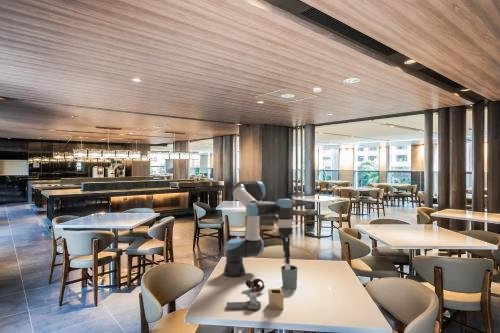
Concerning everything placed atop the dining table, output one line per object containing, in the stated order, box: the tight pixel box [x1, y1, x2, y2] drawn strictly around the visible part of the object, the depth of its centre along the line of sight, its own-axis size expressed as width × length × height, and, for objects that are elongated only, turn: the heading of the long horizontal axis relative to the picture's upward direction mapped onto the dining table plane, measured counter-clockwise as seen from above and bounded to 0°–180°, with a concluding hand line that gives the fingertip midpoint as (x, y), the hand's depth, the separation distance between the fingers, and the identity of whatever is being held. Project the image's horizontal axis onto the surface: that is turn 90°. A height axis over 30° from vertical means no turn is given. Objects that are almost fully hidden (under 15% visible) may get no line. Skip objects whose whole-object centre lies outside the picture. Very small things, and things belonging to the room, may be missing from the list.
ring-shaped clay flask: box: [245, 278, 266, 294], centre depth 178 cm, size 12×10×8 cm
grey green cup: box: [280, 264, 298, 291], centre depth 184 cm, size 10×10×12 cm
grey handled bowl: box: [226, 292, 262, 312], centre depth 157 cm, size 8×18×7 cm, turn 93°
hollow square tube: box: [267, 288, 284, 311], centre depth 158 cm, size 7×7×8 cm
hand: (286, 266), depth 163 cm, fingers open, 13 cm apart
